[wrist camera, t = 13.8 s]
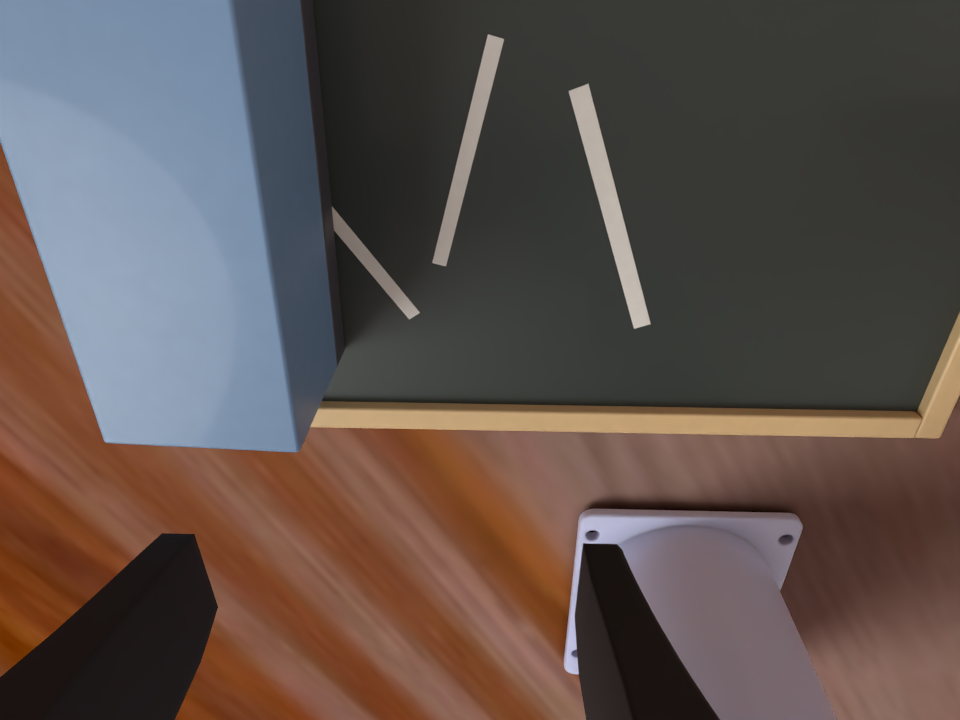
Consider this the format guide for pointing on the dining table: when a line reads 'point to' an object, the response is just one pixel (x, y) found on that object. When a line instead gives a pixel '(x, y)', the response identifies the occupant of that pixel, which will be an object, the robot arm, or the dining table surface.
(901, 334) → the slate board
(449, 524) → the dining table surface
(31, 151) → the eraser
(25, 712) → the robot arm
